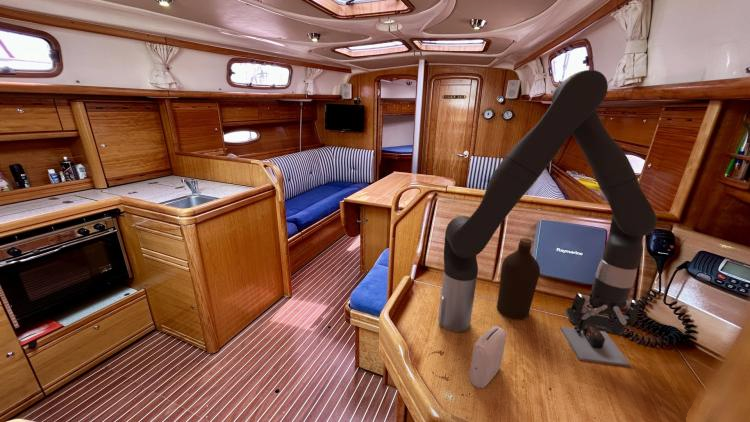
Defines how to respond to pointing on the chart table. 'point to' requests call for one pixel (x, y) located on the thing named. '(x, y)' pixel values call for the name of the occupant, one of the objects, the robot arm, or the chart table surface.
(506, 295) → the olive oil
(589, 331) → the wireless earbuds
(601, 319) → the phone
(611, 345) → the mat
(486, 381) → the photo printer
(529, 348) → the chart table surface
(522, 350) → the chart table surface
